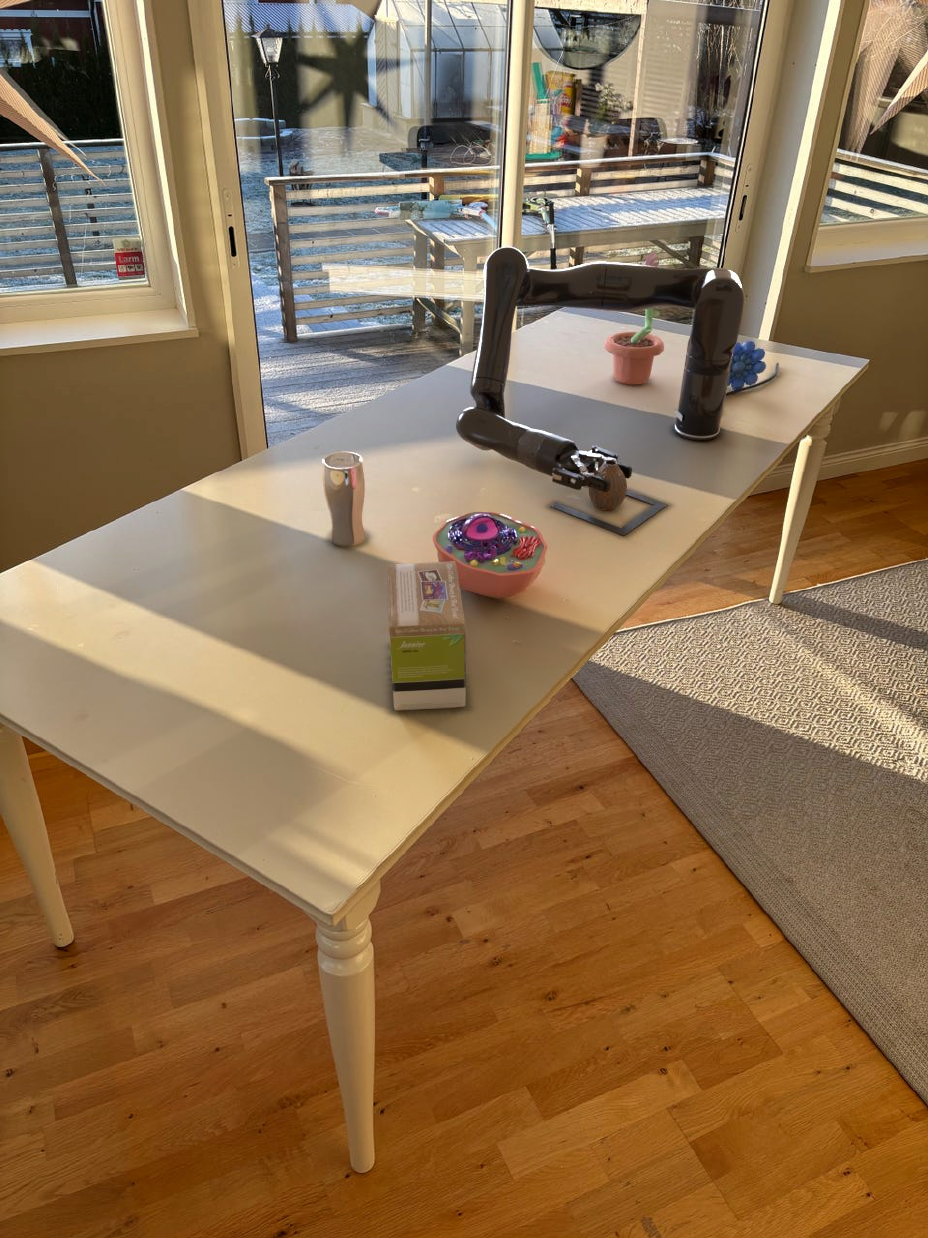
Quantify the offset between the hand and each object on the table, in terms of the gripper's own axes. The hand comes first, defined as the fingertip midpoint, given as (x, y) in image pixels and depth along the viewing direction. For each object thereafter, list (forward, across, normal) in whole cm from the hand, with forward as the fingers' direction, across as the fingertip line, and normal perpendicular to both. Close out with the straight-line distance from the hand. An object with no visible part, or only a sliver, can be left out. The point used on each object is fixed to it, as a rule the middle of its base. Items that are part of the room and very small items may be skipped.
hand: (619, 479), depth 168 cm
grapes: (-11, +68, +6) cm, 69 cm away
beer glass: (-29, -40, +6) cm, 50 cm away
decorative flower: (-33, +57, +6) cm, 66 cm away
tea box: (+7, -59, +6) cm, 60 cm away
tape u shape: (-2, 0, +6) cm, 6 cm away
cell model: (-1, -35, +6) cm, 35 cm away
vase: (-2, 0, +6) cm, 7 cm away
